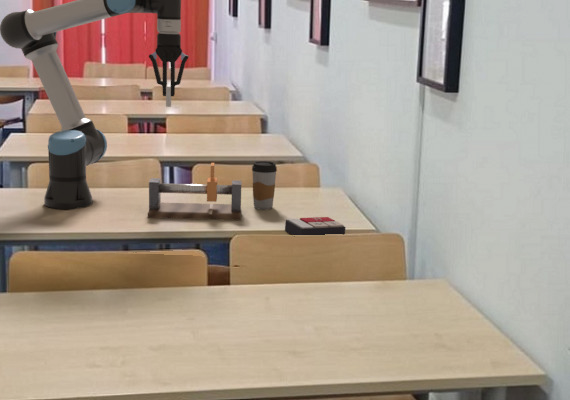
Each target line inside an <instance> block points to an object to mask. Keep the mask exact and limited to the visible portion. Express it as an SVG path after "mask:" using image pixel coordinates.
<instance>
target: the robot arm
mask: <svg viewBox="0 0 570 400" xmlns="http://www.w3.org/2000/svg"><path fill="white" fill-rule="evenodd" d="M124 14H156V15H157V16H156V22H157V23H156V31H157V32H158V33H157V34H156V39H157V40H156V41H157V42H156V48H155V51H154V52H153V53H151V54H150V53H149V54H148V58H149V60H150V61H151V63H152V68H153V72H154V75H155V76H154V77H155V81H156V84H158V85H160V86H161V87H162V96H163V97H165V107H166V108H171V107H172V97H175V92H176V91H175V89H176V88H175V87H176V86H180V85H181V81H182V78H183V73H184V70H185V66H186V63H187V61H188V59H189V57H190V56H189V55H188V54H185V53H184V52H183V49H182V43H181V41H182V40H181V36H182V35H181V34H180V33H181V31H182V30H181V29H182V28H181V27H182V25H181V24H182V20H181V18H182V17H181V15H182V0H73V1H69V2H66V3H60V4H58V5H54V6H52V7H48V8H44V9H40V10H36V11H34V10H32V9H27V10H26V9H25V10H22V11H13V12H11V13H8V14H6V15H5V16H4V17H3V18H2V20H1V23H0V36H1V38H2V39H3V41H4V42H5V43H6V44H7V45H8V46H9V47H11V48H15V49H20V50H21V51H22V53H23V56H24V58H25V59H26V60H29V61H31V62H32V64H33V67H34V69H35V71H36V74H37V75H38V78H39V80H40V82H41V84H42V86H43V89H44V90H45V93H46V95H47V98H48V100H49V102H50V104H51V107H52V109H53V111H54V114H55V116H56V117H57V120H58V122H59V123H60V126H61V128H60V131H56V132H54V133H52V134H51V135H50V136H49V137H48V144H47V150H48V175H49V178H48V179H49V181H48V185H47V188H46V191H45V195H44V200H43V201H44V206H46V207H47V208H51V209H56V210H57V209H58V210H73V209H74V210H75V209H82V208H86V207H90V206H91V205H92V204H93V196H92V193H91V190H90V187H89V185H88V181H87V166H90V165H93V164H96V163H98V161H100V160H101V159H102V158H103V157H104V156H105V154H106V152H107V149H108V142H107V138H106V136H105V134H104V133H103V131H101V130H99V129H97V128H96V126H95V124H94V122H93V120H92V119H90V118H88V117H86V115H85V113H84V111H83V108H82V106H81V103H80V102H79V99H78V97H77V95H76V92H75V90H74V88H73V85H72V83H71V81H70V80H69V76H68V75H67V73H66V70H65V68H64V66H63V64H62V61H61V59H60V57H59V54H58V52H57V49H58V47H59V44H58V41H57V38H56V37H57V32H61V31H65V30H68V29H72V28H75V27H79V26H82V25H87V24H90V23H95V22H98V21H101V20H106V19H109V18H112V17H117V16H121V15H124ZM157 56H158V57H157ZM158 58H159V59H160V61H161V62H162V63H161V64H162V79H161V73H160V70H159V66H158V61H157V59H158ZM179 58H180V65H179V69H178V75H177V79H176V61H178V59H179ZM168 63H169V64H170V85H168Z"/></svg>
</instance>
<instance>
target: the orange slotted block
mask: <svg viewBox="0 0 570 400" xmlns="http://www.w3.org/2000/svg"><path fill="white" fill-rule="evenodd" d="M206 181H207V182H206V185H207V194H206V202H210V203H211V202H212V203H213V202H215V203H216V202H217V200H218V194H217V185H218V177H215V162H211V163H210V176H208V177H207V180H206Z"/></svg>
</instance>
